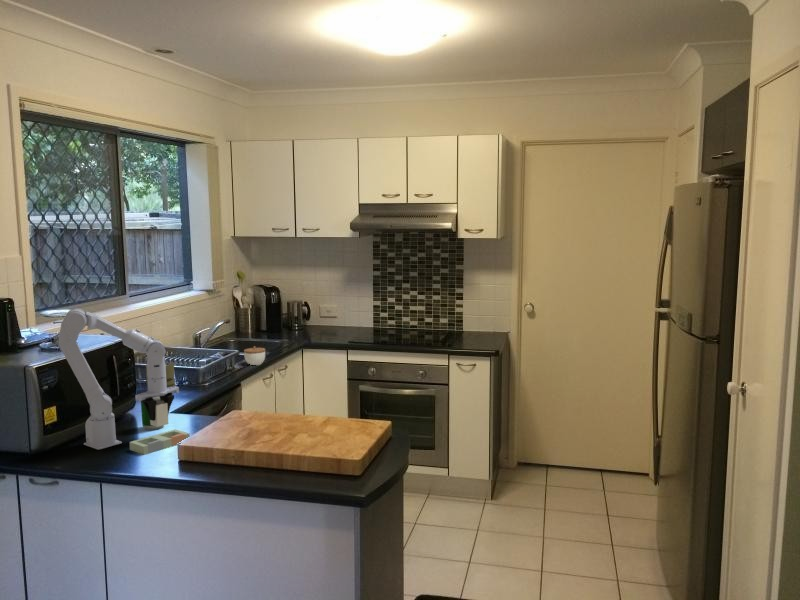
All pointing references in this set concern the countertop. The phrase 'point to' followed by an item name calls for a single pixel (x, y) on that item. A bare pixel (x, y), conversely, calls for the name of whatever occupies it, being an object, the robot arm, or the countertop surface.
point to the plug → (160, 414)
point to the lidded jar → (254, 355)
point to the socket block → (158, 441)
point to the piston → (167, 375)
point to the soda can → (147, 417)
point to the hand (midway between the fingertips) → (159, 418)
